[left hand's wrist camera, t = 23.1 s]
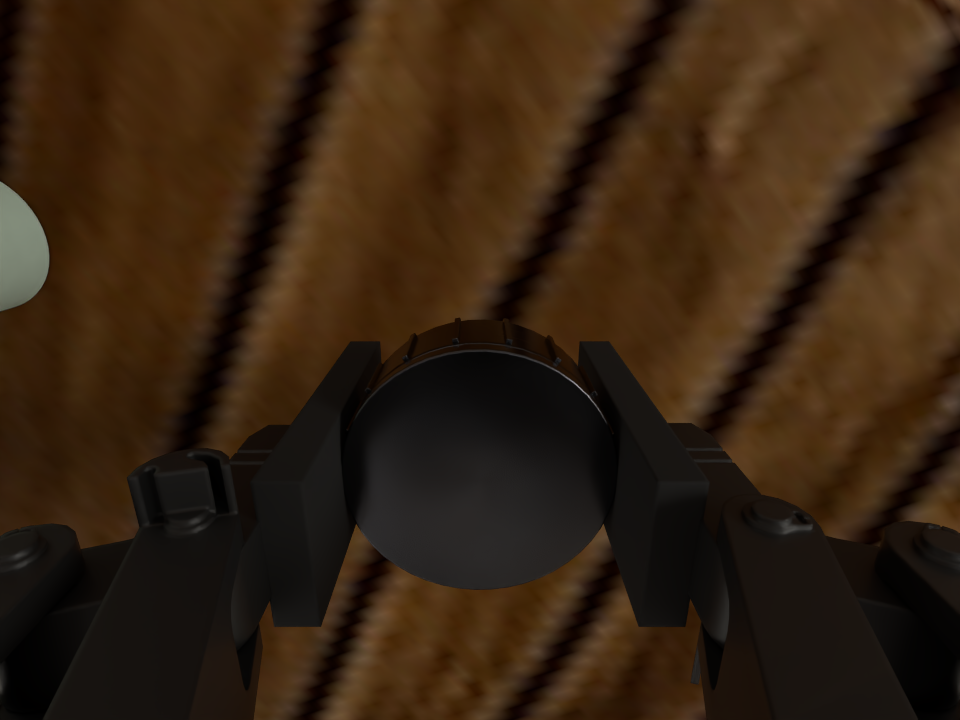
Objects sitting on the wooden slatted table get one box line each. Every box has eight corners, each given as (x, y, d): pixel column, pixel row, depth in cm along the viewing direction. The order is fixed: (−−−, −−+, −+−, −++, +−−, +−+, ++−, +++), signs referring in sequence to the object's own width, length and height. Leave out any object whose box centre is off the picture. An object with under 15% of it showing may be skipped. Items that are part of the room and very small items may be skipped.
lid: (628, 492, 12) (653, 550, 11) (414, 558, 13) (404, 622, 11) (559, 279, 11) (576, 303, 9) (318, 366, 11) (286, 405, 10)
